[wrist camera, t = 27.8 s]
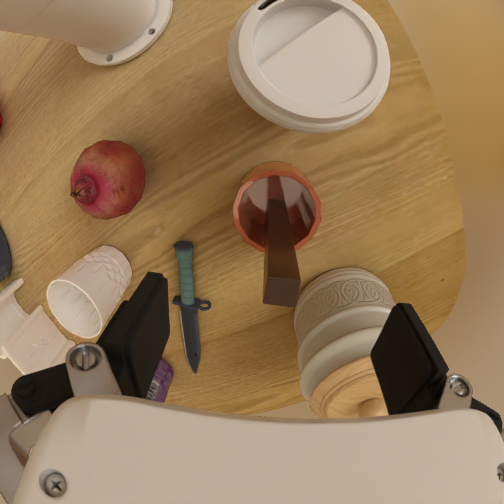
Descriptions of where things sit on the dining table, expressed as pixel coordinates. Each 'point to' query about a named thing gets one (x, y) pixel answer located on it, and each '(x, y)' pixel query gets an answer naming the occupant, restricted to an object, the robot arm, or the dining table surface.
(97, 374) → the robot arm
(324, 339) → the jar
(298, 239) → the holder
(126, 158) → the fruit
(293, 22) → the coffee cup
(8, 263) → the bowl
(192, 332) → the knife
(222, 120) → the dining table surface
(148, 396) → the beverage can
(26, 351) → the bracket
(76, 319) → the white cup
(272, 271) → the stick
